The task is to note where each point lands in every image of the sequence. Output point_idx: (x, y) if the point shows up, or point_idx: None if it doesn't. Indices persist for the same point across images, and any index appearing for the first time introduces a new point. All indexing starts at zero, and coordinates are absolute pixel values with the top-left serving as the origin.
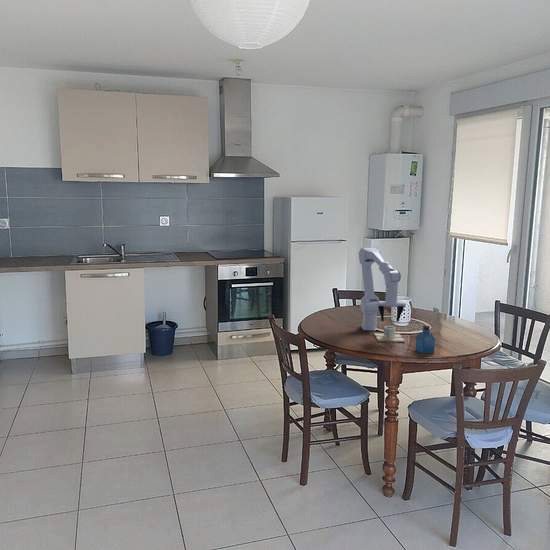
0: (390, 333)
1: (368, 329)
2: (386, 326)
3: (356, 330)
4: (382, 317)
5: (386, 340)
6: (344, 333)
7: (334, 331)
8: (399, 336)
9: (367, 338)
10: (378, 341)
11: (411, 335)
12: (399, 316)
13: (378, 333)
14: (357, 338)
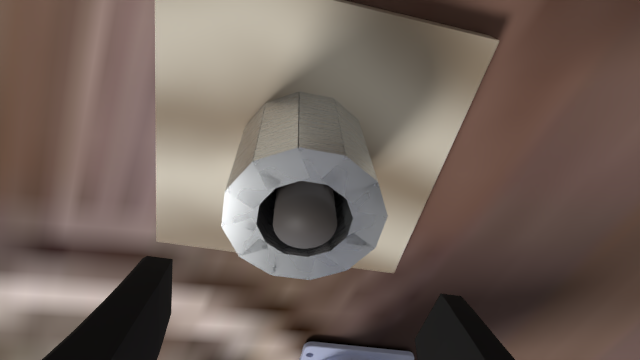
0: (321, 118)
1: (376, 354)
2: (334, 257)
3: None
4: (505, 355)
5: (405, 16)
6: (595, 307)
7: (624, 345)
8: (179, 152)
9: (513, 176)
10: (491, 37)
11: (31, 218)
12: (76, 344)
13: (361, 259)
14: (603, 186)
